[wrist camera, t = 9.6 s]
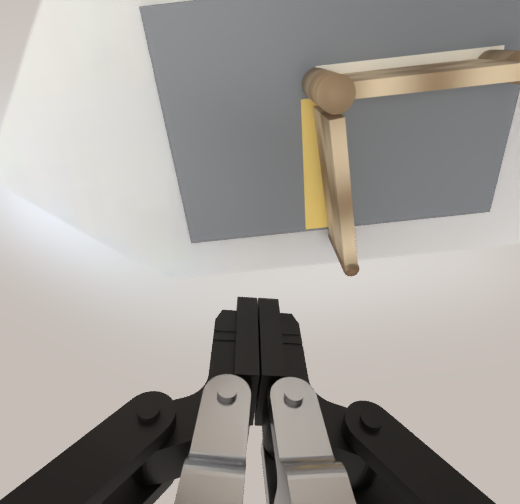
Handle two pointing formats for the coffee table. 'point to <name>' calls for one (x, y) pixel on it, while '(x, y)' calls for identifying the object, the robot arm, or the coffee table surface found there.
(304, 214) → the card
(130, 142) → the coffee table surface
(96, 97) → the coffee table surface
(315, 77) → the wooden toy fence
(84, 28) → the coffee table surface
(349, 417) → the robot arm
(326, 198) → the fence panel
